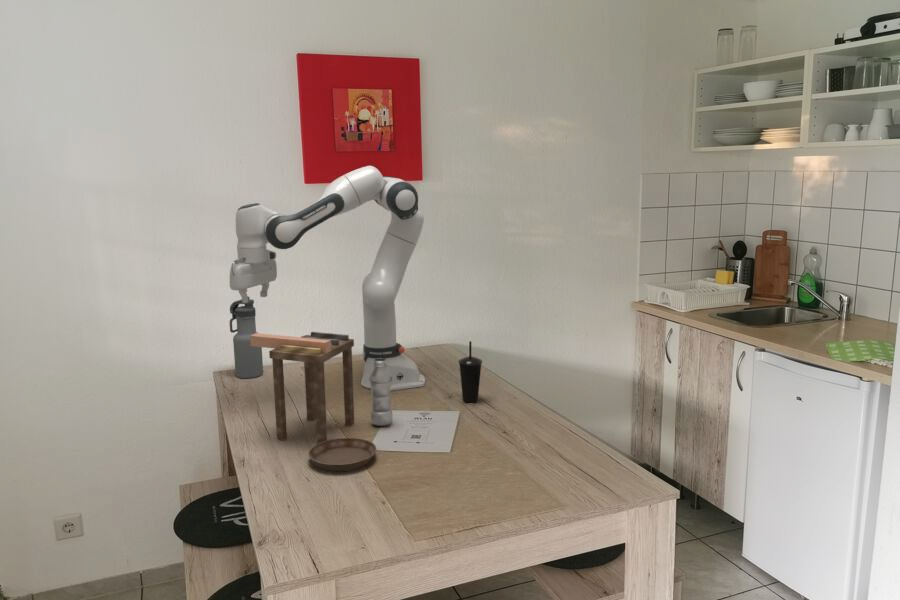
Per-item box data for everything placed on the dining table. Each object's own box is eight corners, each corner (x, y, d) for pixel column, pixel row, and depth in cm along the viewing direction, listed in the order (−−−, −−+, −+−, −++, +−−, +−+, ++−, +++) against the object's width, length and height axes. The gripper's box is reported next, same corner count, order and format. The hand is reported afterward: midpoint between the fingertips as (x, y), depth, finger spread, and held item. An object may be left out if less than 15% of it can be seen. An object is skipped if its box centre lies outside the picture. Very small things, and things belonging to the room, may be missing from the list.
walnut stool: (274, 440, 199) (268, 345, 193) (309, 417, 216) (305, 330, 211) (324, 447, 193) (320, 351, 188) (356, 423, 211) (353, 334, 205)
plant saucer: (303, 452, 191) (303, 442, 190) (367, 443, 197) (367, 433, 196) (315, 480, 174) (314, 468, 174) (384, 469, 180) (384, 457, 180)
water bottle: (229, 377, 255) (223, 302, 250) (244, 369, 264) (239, 296, 259) (253, 380, 252) (248, 303, 247) (268, 372, 261) (263, 298, 256)
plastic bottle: (389, 429, 206) (388, 363, 202) (367, 427, 207) (365, 362, 203) (395, 421, 212) (394, 357, 208) (374, 419, 213) (372, 356, 209)
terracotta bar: (250, 346, 199) (250, 335, 198) (257, 343, 201) (256, 333, 201) (325, 353, 191) (325, 342, 190) (331, 350, 193) (330, 340, 193)
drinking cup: (482, 397, 233) (482, 338, 229) (481, 405, 225) (481, 345, 221) (459, 396, 233) (459, 338, 229) (457, 404, 226) (457, 344, 222)
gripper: (240, 261, 209) (243, 306, 212) (279, 252, 228) (281, 294, 231) (222, 260, 211) (225, 305, 214) (262, 251, 230) (265, 293, 233)
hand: (255, 299), depth 223 cm, fingers open, 8 cm apart
